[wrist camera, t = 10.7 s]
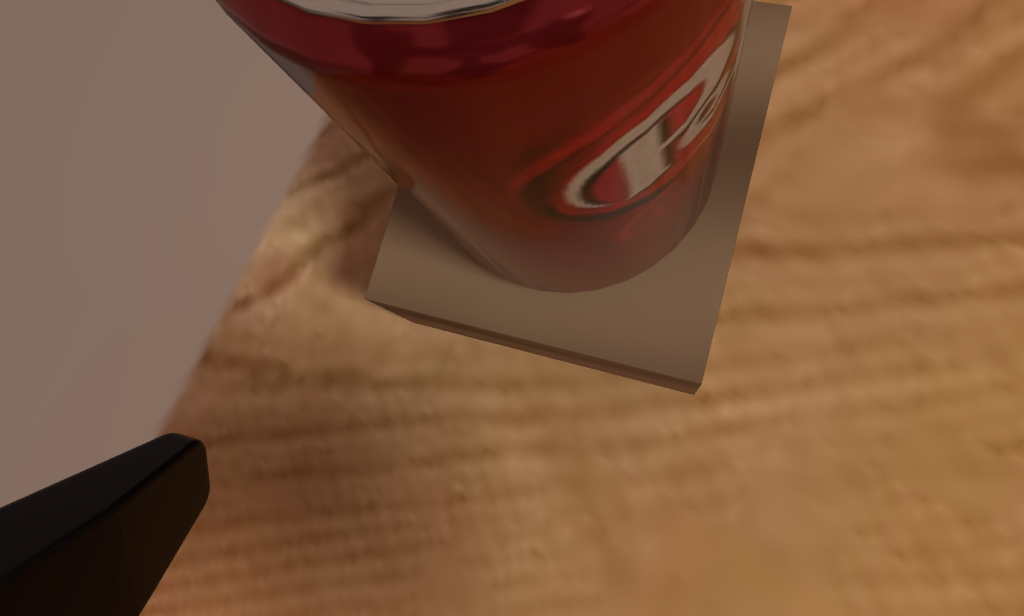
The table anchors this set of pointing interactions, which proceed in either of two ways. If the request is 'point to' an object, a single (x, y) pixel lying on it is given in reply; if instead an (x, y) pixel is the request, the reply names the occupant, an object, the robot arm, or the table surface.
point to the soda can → (527, 117)
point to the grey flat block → (615, 309)
